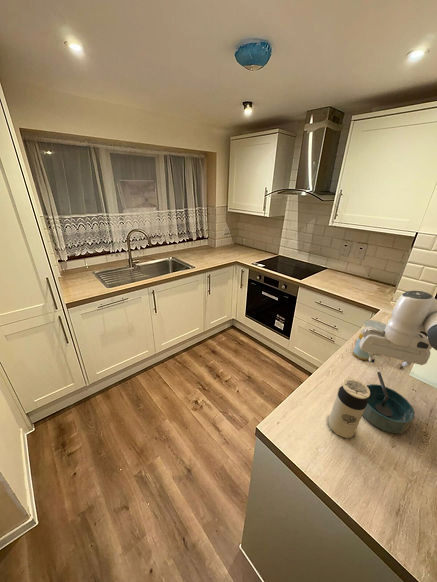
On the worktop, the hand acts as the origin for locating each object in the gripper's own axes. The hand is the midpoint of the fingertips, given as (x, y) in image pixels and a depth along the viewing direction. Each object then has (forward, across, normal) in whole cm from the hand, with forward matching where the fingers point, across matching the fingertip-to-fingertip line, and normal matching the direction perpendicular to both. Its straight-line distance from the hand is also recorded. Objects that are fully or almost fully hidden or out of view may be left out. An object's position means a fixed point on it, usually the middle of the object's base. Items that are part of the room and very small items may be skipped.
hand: (385, 364), depth 87 cm
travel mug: (+13, -14, -22) cm, 29 cm away
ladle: (+12, 0, -5) cm, 14 cm away
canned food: (+13, +4, +31) cm, 34 cm away
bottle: (+13, -2, +21) cm, 25 cm away
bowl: (+13, 0, -11) cm, 17 cm away
